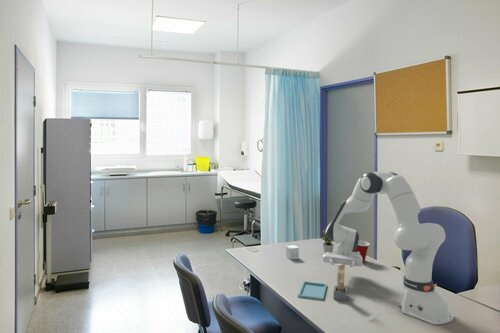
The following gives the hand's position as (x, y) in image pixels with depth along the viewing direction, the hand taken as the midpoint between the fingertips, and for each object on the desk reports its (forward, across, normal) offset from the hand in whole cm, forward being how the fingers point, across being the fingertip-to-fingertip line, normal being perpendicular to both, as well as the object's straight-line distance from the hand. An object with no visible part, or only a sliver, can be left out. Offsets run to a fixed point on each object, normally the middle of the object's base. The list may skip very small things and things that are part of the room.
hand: (341, 264), depth 196 cm
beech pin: (+12, 0, +12) cm, 17 cm away
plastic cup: (-48, +9, +14) cm, 51 cm away
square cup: (+12, 0, +13) cm, 18 cm away
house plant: (-57, -11, +14) cm, 59 cm away
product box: (-41, -32, +14) cm, 54 cm away
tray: (+9, -13, +13) cm, 21 cm away
